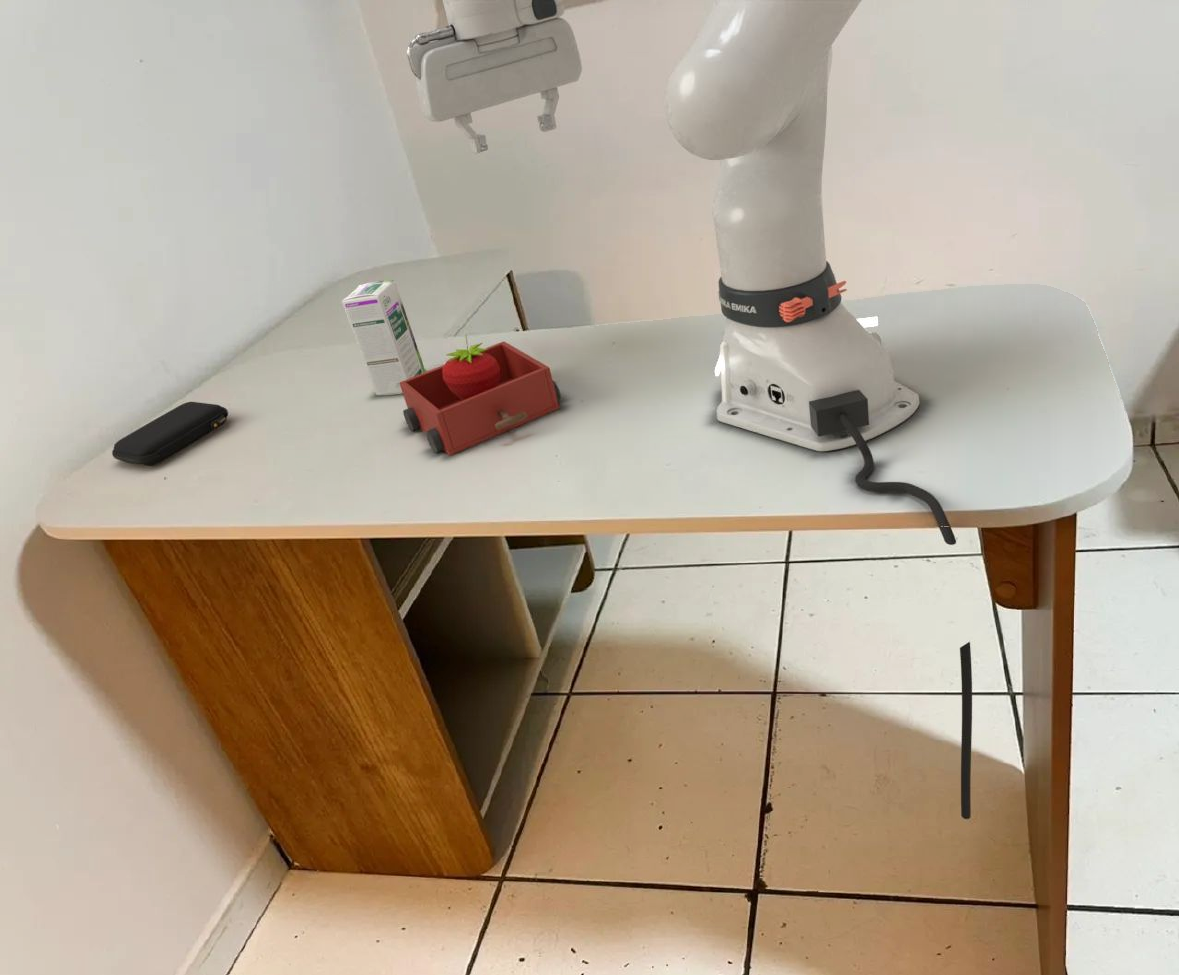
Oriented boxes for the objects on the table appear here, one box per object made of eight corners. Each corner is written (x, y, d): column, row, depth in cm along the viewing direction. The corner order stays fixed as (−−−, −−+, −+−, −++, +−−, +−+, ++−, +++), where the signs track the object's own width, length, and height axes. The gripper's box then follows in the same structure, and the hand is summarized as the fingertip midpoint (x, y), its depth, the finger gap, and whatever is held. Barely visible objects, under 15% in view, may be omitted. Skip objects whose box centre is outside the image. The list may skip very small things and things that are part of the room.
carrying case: (157, 473, 123) (243, 420, 133) (147, 453, 122) (234, 401, 132) (111, 465, 129) (197, 414, 139) (101, 445, 127) (188, 396, 137)
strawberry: (467, 400, 122) (446, 328, 117) (518, 399, 119) (498, 326, 114) (445, 422, 117) (422, 348, 112) (497, 422, 114) (476, 346, 109)
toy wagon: (579, 413, 113) (569, 371, 110) (452, 469, 107) (438, 426, 104) (520, 376, 126) (510, 338, 124) (404, 424, 121) (391, 385, 118)
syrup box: (413, 393, 129) (380, 293, 122) (374, 396, 131) (340, 298, 123) (427, 374, 134) (396, 277, 127) (390, 378, 135) (357, 283, 128)
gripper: (411, 37, 101) (447, 167, 108) (574, -6, 108) (598, 119, 115) (393, 38, 106) (428, 162, 113) (550, -3, 113) (573, 117, 120)
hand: (515, 140), depth 114 cm, fingers open, 8 cm apart
